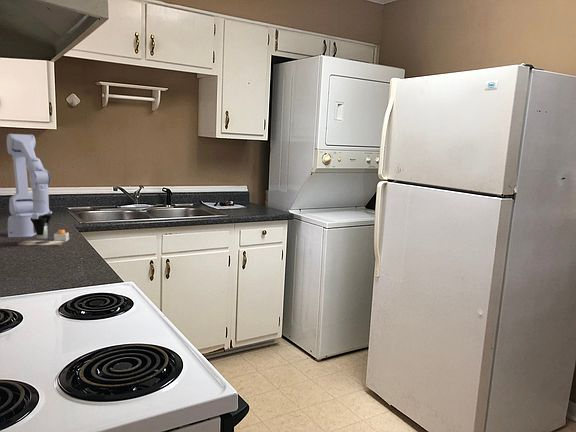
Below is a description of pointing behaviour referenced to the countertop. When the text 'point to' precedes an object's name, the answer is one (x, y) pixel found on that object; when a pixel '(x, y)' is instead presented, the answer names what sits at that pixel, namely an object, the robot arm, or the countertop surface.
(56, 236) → the button box
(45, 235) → the ink stamp
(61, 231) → the button
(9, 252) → the countertop surface
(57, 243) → the sketch pad
